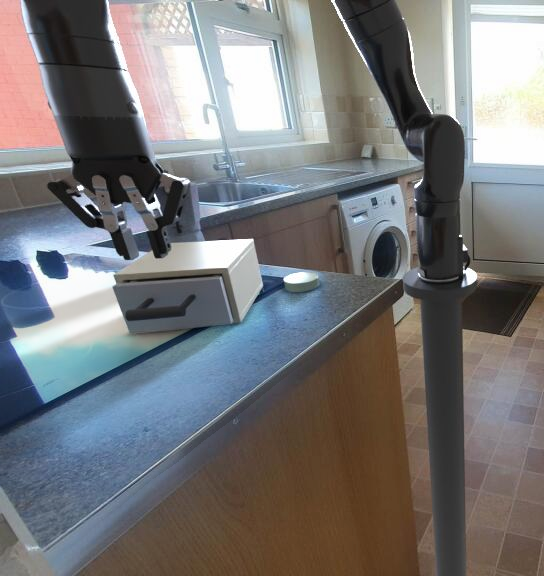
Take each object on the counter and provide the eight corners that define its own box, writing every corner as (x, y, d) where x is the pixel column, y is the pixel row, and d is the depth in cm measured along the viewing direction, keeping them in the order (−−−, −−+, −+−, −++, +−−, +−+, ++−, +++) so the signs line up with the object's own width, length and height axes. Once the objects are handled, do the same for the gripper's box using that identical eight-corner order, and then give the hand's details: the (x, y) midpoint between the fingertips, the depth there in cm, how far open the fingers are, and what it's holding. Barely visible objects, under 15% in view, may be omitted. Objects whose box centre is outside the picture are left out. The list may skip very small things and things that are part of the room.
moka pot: (210, 255, 93) (186, 165, 86) (227, 274, 83) (201, 173, 75) (157, 264, 87) (126, 167, 79) (167, 285, 77) (133, 177, 69)
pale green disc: (321, 279, 82) (319, 271, 82) (318, 290, 77) (316, 281, 76) (288, 281, 81) (286, 273, 80) (282, 293, 75) (280, 284, 75)
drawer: (219, 342, 57) (205, 294, 54) (107, 355, 53) (86, 303, 50) (254, 288, 75) (245, 249, 72) (172, 294, 71) (159, 254, 68)
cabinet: (241, 322, 65) (227, 267, 61) (134, 333, 60) (112, 274, 57) (263, 285, 78) (253, 239, 75) (177, 292, 74) (162, 243, 71)
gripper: (185, 115, 52) (218, 246, 58) (43, 110, 48) (96, 252, 54) (159, 115, 45) (200, 263, 52) (-9, 110, 41) (59, 271, 48)
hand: (147, 257), depth 53 cm, fingers closed
